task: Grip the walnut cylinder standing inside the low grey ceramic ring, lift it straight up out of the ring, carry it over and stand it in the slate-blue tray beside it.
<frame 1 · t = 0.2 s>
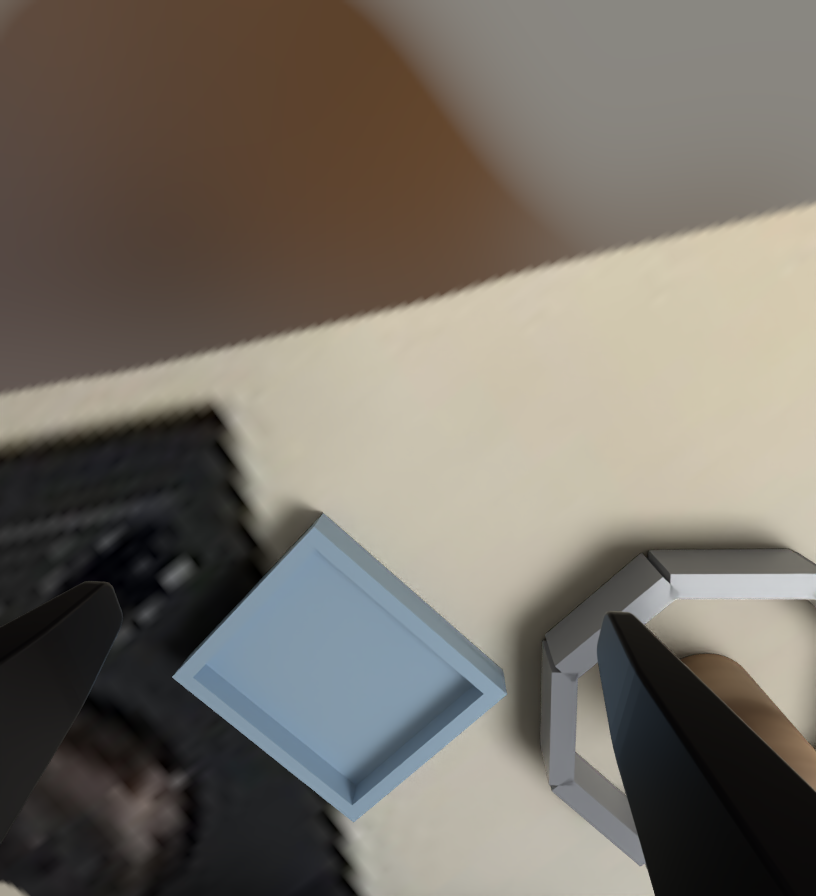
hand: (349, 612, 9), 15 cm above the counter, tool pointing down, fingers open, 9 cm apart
holder ring: (702, 696, 26), on the counter
tray: (342, 662, 27), on the counter
walnut cylinder: (702, 696, 26), resting in holder ring
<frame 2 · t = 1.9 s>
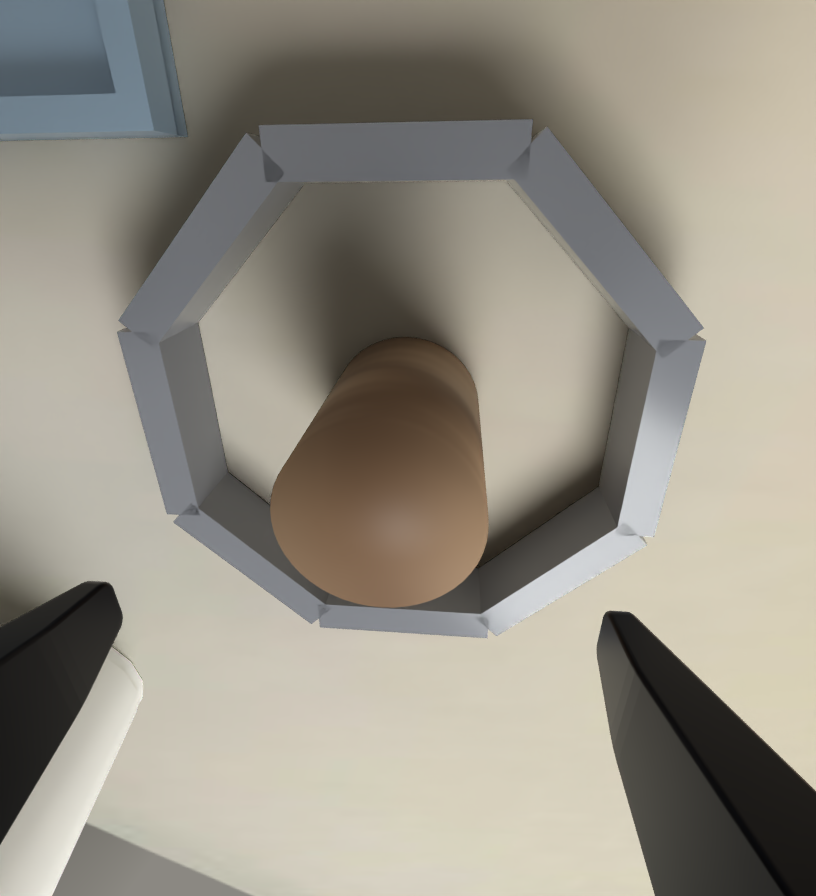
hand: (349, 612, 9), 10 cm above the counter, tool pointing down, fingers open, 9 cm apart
holder ring: (406, 408, 18), on the counter
foam cup: (86, 671, 26), on the counter
walnut cylinder: (406, 407, 18), resting in holder ring
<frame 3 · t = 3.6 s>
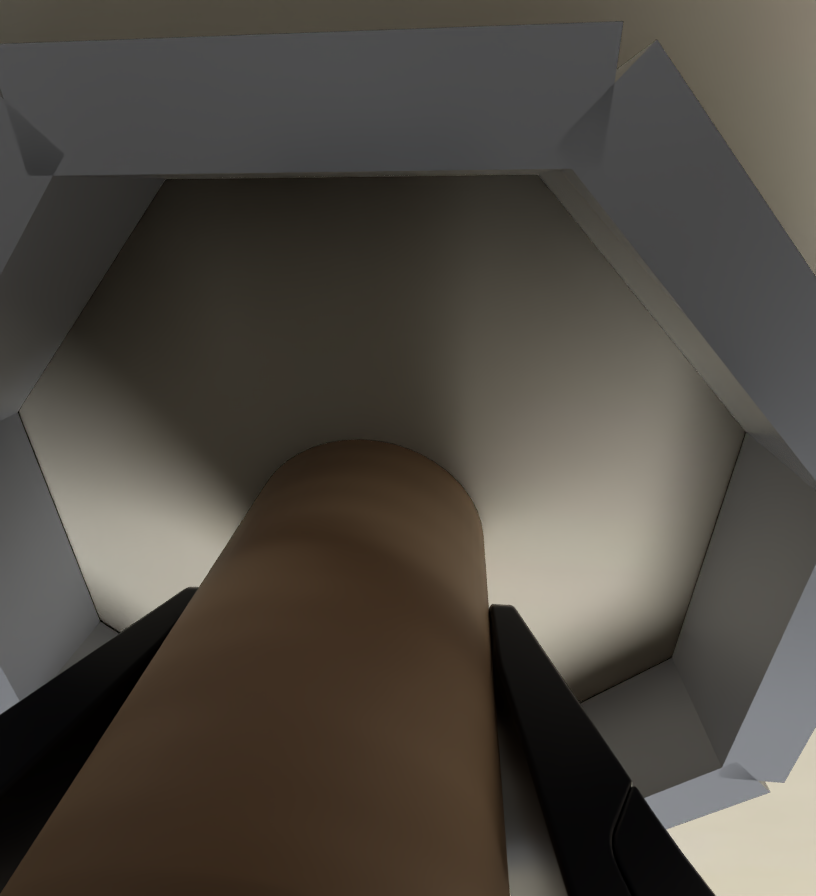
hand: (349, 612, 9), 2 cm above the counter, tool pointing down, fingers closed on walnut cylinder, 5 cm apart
holder ring: (367, 543, 11), on the counter
walnut cylinder: (367, 542, 11), resting in holder ring, touching gripper
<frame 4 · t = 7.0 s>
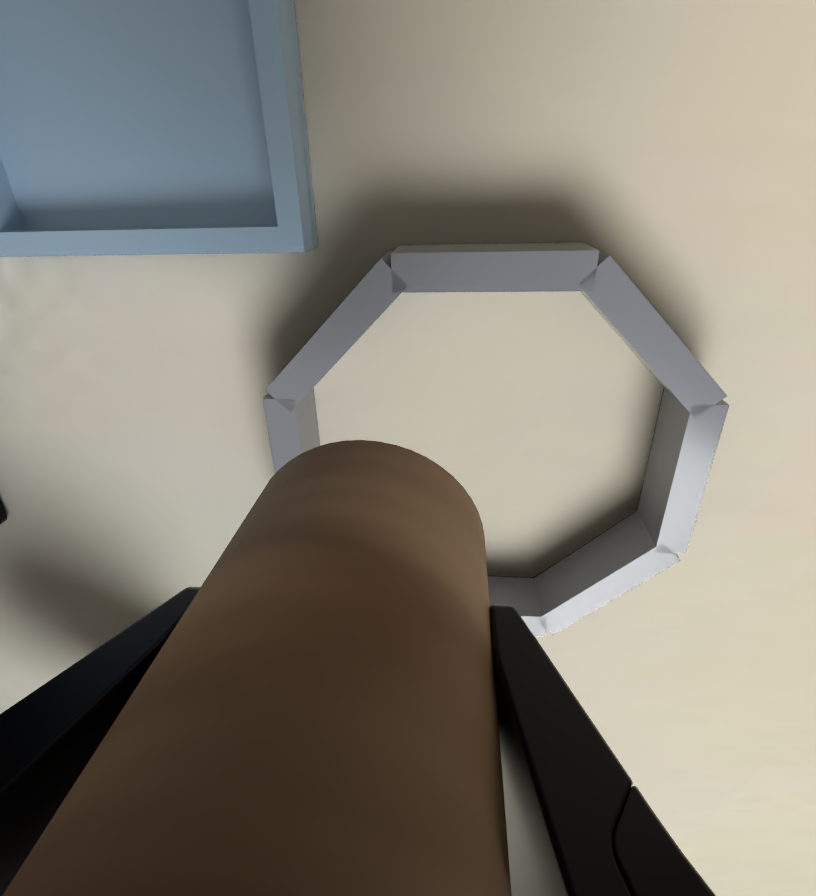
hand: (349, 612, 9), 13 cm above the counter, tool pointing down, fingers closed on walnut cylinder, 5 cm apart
holder ring: (479, 449, 22), on the counter
tray: (120, 38, 16), on the counter
walnut cylinder: (368, 543, 11), point 11 cm above the counter, touching gripper
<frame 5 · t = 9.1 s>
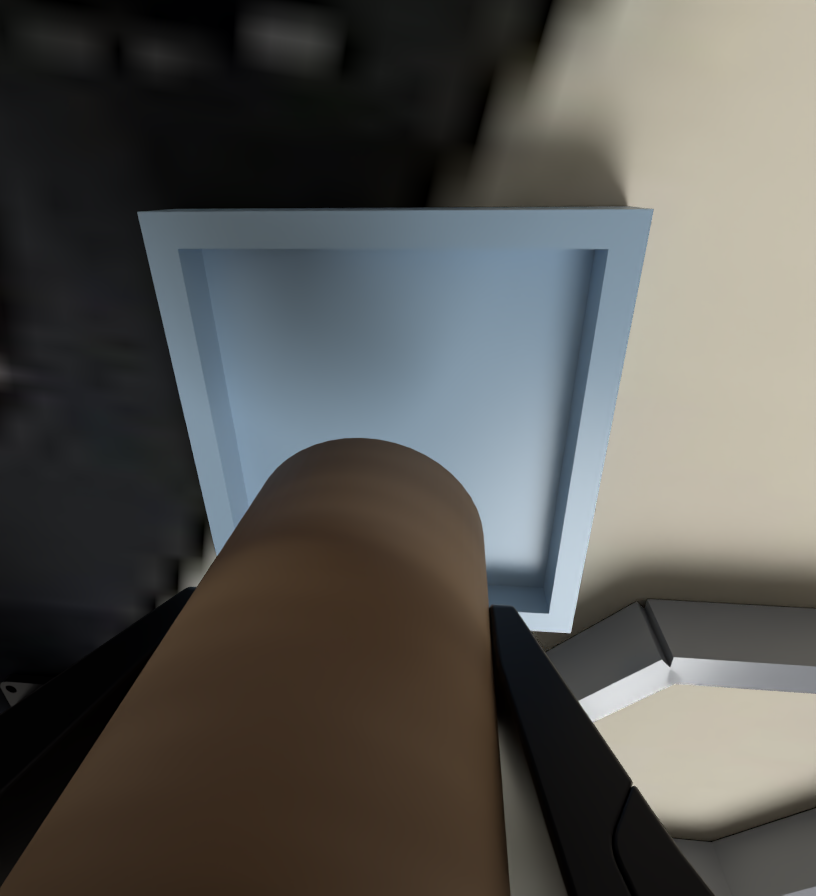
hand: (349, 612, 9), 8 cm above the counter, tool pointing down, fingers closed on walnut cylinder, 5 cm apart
holder ring: (684, 748, 21), on the counter
tray: (397, 431, 16), on the counter
walnut cylinder: (367, 541, 11), point 5 cm above the counter, touching gripper
when the fingers open (4 cm above the counter, at t = 10.6 s): walnut cylinder stays where it is, resting on tray.
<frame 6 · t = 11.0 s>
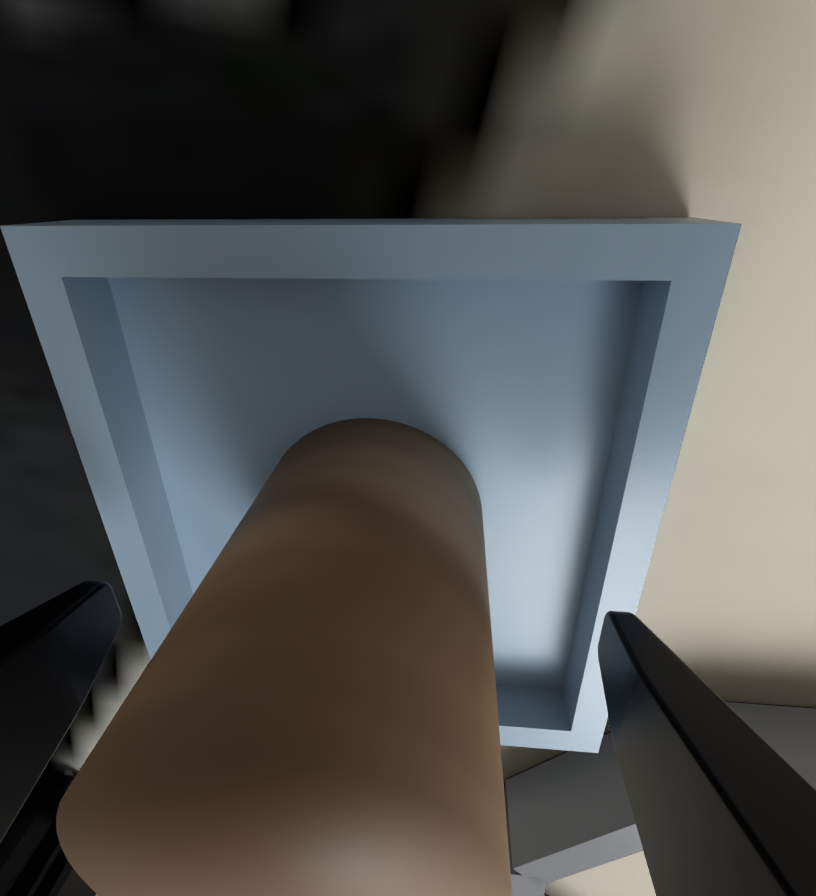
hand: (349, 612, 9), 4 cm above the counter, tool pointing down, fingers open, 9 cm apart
holder ring: (726, 858, 18), on the counter
tray: (378, 502, 12), on the counter
walnut cylinder: (374, 516, 12), point 1 cm above the counter, touching tray
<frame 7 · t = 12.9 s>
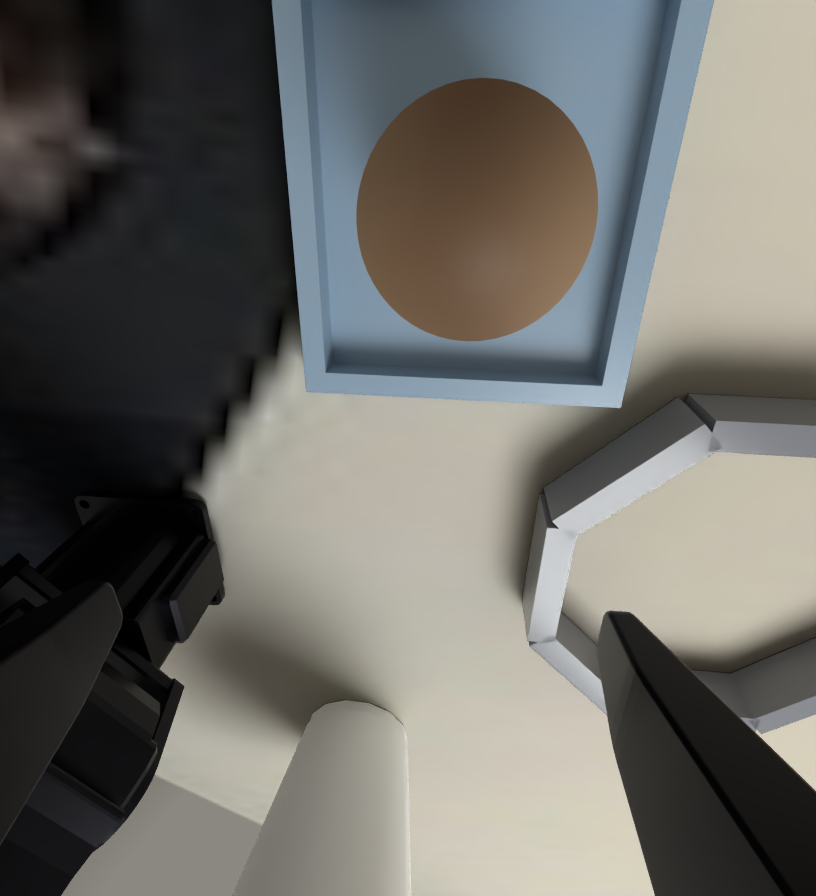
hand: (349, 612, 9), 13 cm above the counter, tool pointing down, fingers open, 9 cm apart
holder ring: (712, 564, 23), on the counter
tray: (471, 209, 17), on the counter
foam cup: (358, 730, 32), on the counter
walnut cylinder: (470, 209, 17), point 1 cm above the counter, touching tray
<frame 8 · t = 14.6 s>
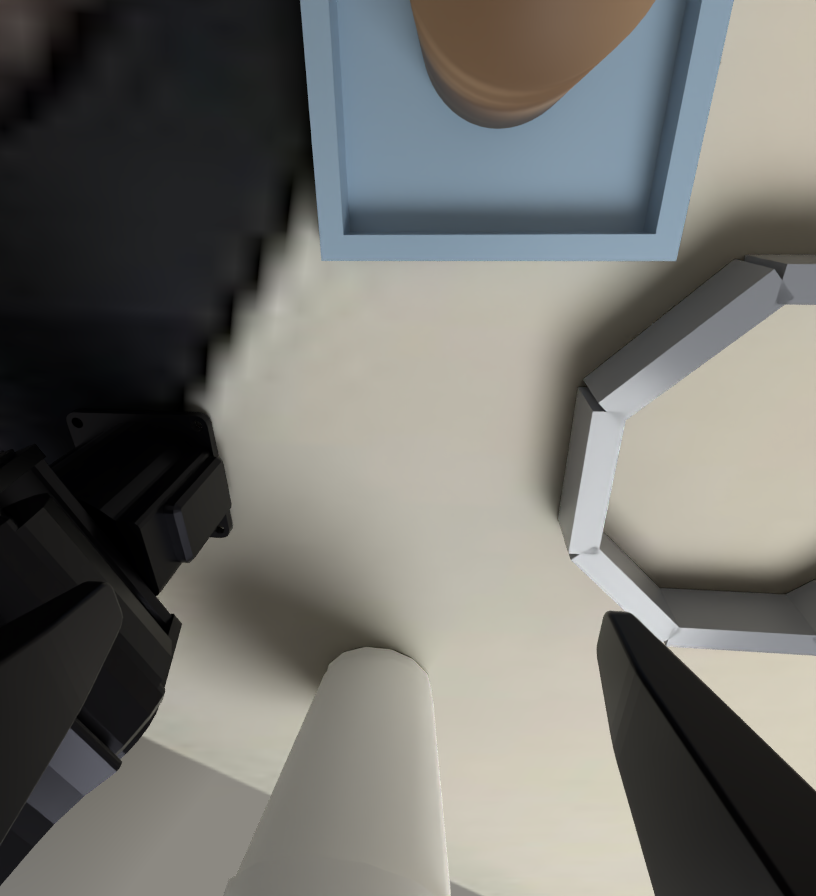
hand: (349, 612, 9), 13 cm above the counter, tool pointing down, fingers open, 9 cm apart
holder ring: (767, 463, 21), on the counter
tray: (504, 34, 15), on the counter
foam cup: (378, 682, 30), on the counter
walnut cylinder: (505, 28, 15), point 1 cm above the counter, touching tray
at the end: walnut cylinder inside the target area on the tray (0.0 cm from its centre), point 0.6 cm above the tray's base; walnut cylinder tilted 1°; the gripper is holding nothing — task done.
